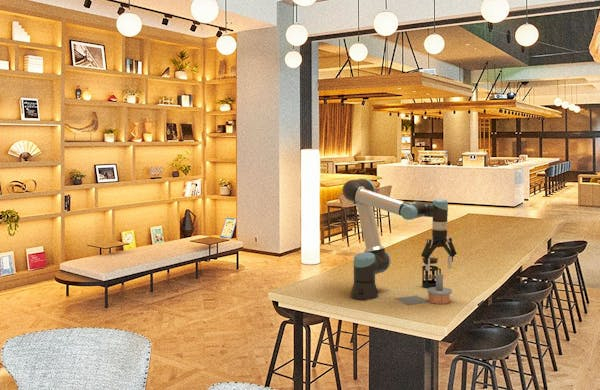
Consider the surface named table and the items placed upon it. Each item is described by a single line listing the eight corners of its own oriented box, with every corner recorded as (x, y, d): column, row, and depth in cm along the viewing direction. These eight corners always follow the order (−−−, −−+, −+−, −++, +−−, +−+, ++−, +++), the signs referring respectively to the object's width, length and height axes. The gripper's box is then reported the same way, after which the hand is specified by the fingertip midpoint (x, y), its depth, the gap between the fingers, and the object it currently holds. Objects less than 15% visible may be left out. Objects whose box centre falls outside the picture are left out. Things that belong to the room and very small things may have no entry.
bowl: (425, 300, 297) (425, 290, 296) (441, 298, 300) (441, 288, 300) (436, 305, 287) (436, 295, 287) (453, 303, 291) (453, 293, 290)
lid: (422, 290, 297) (422, 273, 296) (442, 287, 301) (442, 271, 300) (436, 296, 285) (436, 278, 284) (456, 293, 290) (456, 276, 289)
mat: (393, 299, 300) (393, 298, 300) (416, 296, 305) (416, 295, 305) (407, 306, 287) (407, 305, 287) (431, 302, 292) (431, 302, 292)
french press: (417, 287, 323) (417, 248, 321) (425, 284, 331) (425, 246, 329) (436, 290, 316) (437, 250, 314) (443, 287, 323) (444, 248, 321)
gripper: (423, 231, 282) (422, 272, 285) (464, 229, 291) (462, 268, 293) (415, 229, 289) (414, 269, 292) (455, 226, 298) (454, 265, 300)
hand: (438, 269), depth 292 cm, fingers open, 13 cm apart
